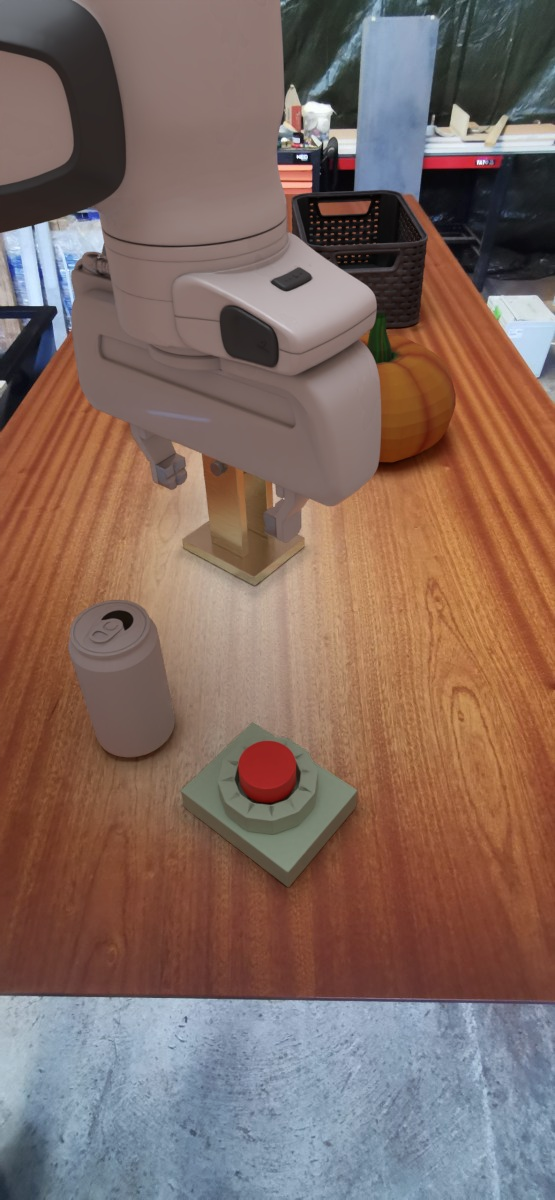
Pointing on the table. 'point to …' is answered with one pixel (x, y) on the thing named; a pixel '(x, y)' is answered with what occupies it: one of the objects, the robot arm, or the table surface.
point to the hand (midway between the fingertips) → (224, 507)
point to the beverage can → (122, 677)
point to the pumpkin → (409, 393)
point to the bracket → (238, 525)
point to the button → (267, 771)
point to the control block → (271, 808)
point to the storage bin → (370, 246)
